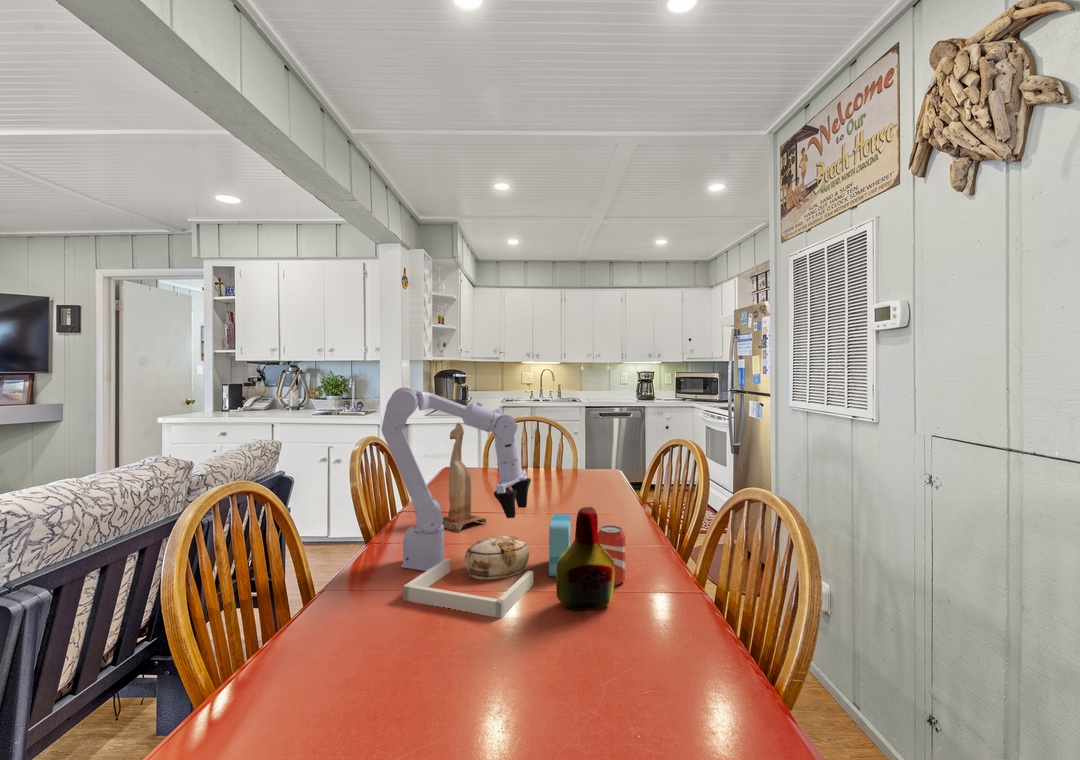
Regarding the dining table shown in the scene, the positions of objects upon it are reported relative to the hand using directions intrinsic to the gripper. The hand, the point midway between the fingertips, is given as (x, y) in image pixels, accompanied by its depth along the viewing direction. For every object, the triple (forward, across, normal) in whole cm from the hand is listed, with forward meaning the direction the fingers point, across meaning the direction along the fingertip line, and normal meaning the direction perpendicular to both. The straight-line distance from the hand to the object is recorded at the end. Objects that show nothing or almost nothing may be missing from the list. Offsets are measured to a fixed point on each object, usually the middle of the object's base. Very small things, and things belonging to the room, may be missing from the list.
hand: (516, 512), depth 133 cm
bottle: (+13, -22, -23) cm, 34 cm away
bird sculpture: (+10, +18, +28) cm, 35 cm away
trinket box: (+11, -11, +2) cm, 15 cm away
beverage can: (+14, -8, -24) cm, 29 cm away
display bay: (+9, -25, +2) cm, 26 cm away
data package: (+13, -5, -12) cm, 18 cm away
